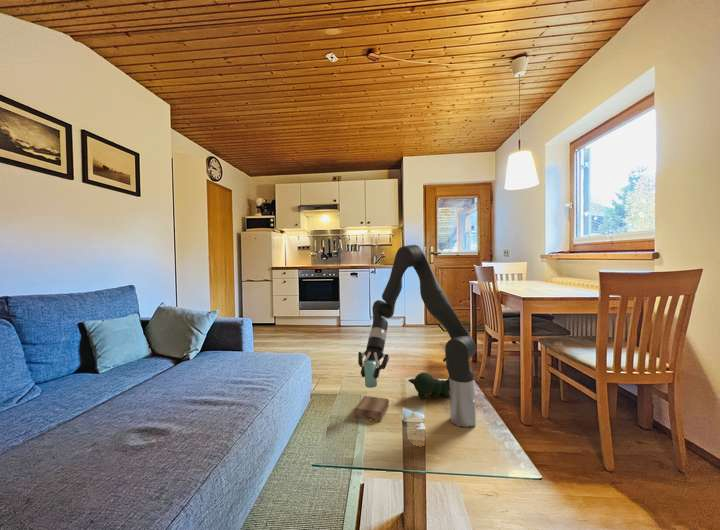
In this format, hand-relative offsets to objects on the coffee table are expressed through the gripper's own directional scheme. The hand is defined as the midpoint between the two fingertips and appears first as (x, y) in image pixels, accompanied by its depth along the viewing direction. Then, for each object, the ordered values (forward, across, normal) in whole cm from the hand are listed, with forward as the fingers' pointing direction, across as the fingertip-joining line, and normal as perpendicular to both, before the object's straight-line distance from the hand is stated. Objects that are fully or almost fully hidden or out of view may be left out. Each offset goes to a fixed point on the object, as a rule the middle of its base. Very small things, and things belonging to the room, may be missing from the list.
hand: (369, 377), depth 128 cm
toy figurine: (-5, +23, +28) cm, 37 cm away
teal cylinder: (+2, 0, +4) cm, 5 cm away
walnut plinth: (+10, 0, +13) cm, 16 cm away
